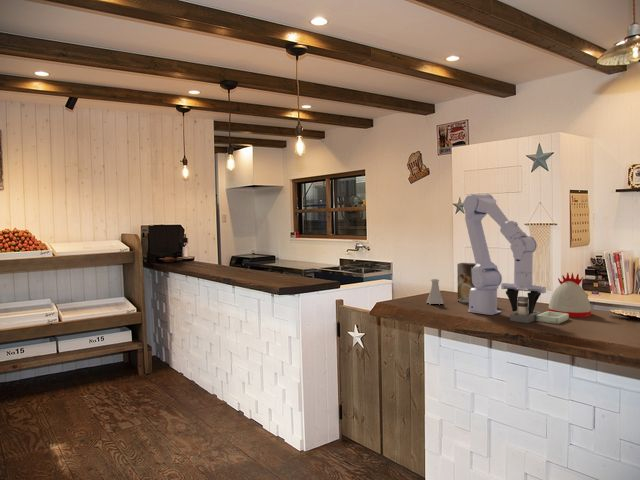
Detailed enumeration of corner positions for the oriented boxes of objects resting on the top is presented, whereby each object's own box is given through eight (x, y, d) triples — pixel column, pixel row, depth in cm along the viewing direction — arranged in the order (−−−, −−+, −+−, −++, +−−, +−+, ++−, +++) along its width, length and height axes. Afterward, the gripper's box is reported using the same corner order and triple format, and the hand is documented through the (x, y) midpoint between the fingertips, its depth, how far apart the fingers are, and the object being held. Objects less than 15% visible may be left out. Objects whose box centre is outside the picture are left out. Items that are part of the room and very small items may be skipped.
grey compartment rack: (510, 320, 169) (510, 308, 169) (524, 315, 177) (524, 304, 177) (527, 323, 165) (527, 310, 165) (541, 318, 173) (541, 306, 172)
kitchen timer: (589, 318, 172) (590, 275, 171) (546, 314, 179) (546, 273, 179) (591, 311, 184) (592, 271, 183) (551, 308, 191) (551, 269, 190)
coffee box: (484, 302, 206) (484, 263, 206) (478, 304, 201) (478, 264, 201) (463, 299, 212) (463, 262, 211) (456, 301, 207) (456, 263, 207)
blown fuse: (515, 320, 169) (516, 297, 169) (520, 319, 172) (520, 296, 171) (525, 322, 167) (525, 298, 167) (529, 320, 169) (529, 297, 169)
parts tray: (536, 320, 168) (536, 315, 168) (547, 316, 175) (547, 311, 175) (557, 324, 163) (557, 318, 163) (568, 319, 170) (568, 313, 170)
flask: (424, 302, 207) (424, 278, 206) (442, 302, 206) (442, 278, 206) (427, 305, 199) (427, 280, 199) (445, 305, 199) (446, 280, 199)
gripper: (497, 271, 171) (496, 310, 172) (540, 275, 161) (539, 316, 161) (506, 270, 176) (506, 308, 176) (548, 273, 165) (548, 313, 166)
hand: (522, 312), depth 169 cm, fingers open, 5 cm apart
